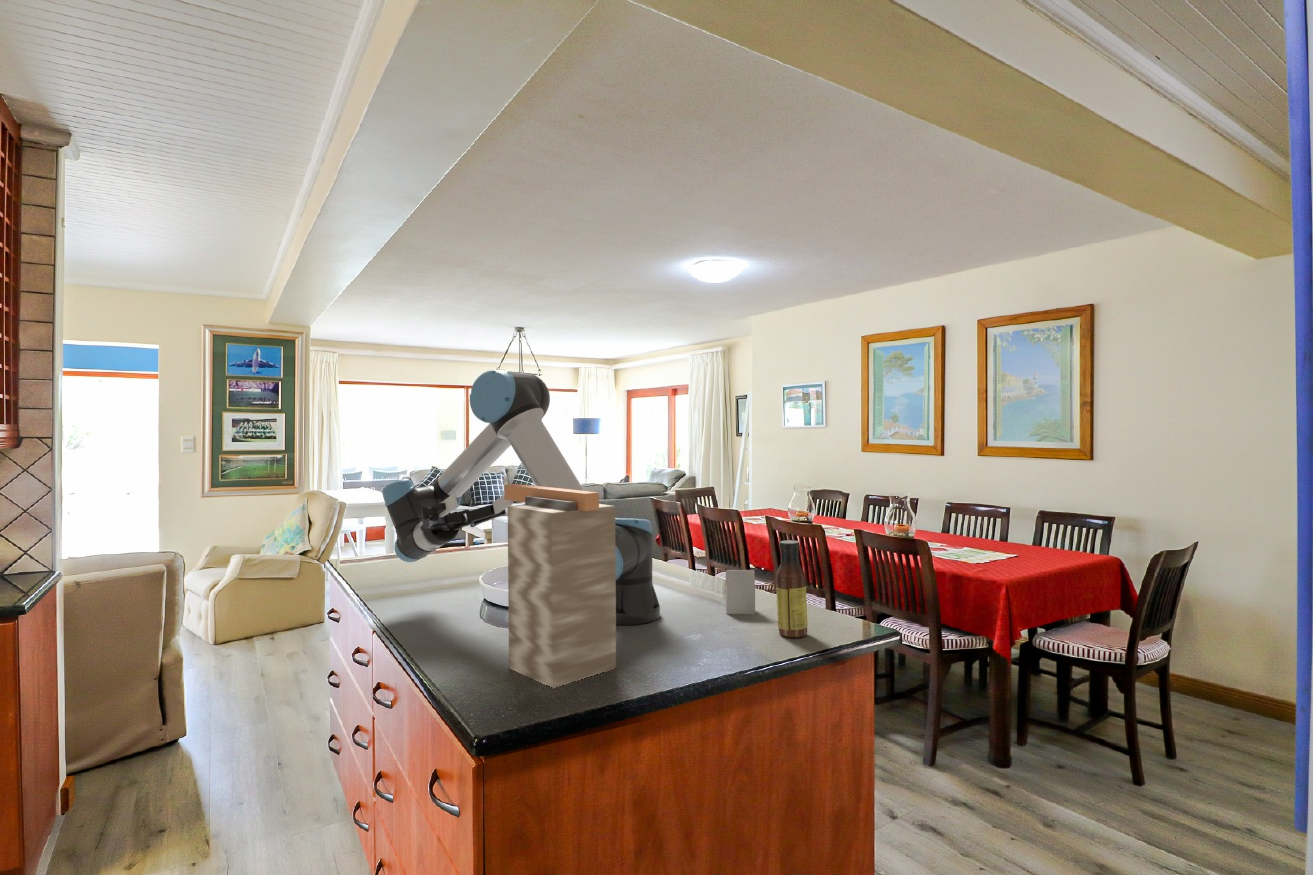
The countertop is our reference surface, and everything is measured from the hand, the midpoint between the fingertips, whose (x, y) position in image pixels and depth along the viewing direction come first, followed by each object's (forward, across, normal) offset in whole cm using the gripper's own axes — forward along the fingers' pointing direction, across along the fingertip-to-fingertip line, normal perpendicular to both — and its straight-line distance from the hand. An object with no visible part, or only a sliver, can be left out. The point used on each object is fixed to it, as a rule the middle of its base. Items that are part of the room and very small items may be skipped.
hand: (484, 499), depth 149 cm
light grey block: (+16, -53, -37) cm, 66 cm away
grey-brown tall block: (+14, 0, -38) cm, 41 cm away
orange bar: (+23, +2, -9) cm, 25 cm away
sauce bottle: (+33, -46, -44) cm, 72 cm away
